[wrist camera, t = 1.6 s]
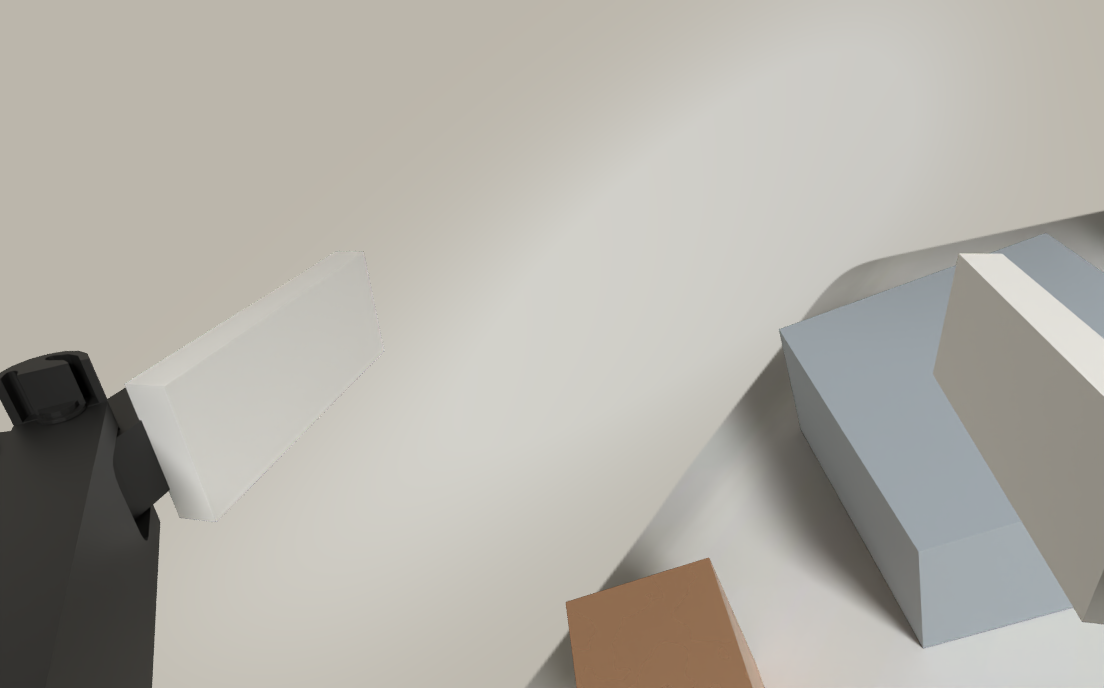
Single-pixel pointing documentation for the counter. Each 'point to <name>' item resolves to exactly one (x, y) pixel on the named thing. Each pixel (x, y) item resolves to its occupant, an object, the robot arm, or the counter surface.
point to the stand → (926, 449)
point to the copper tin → (661, 634)
